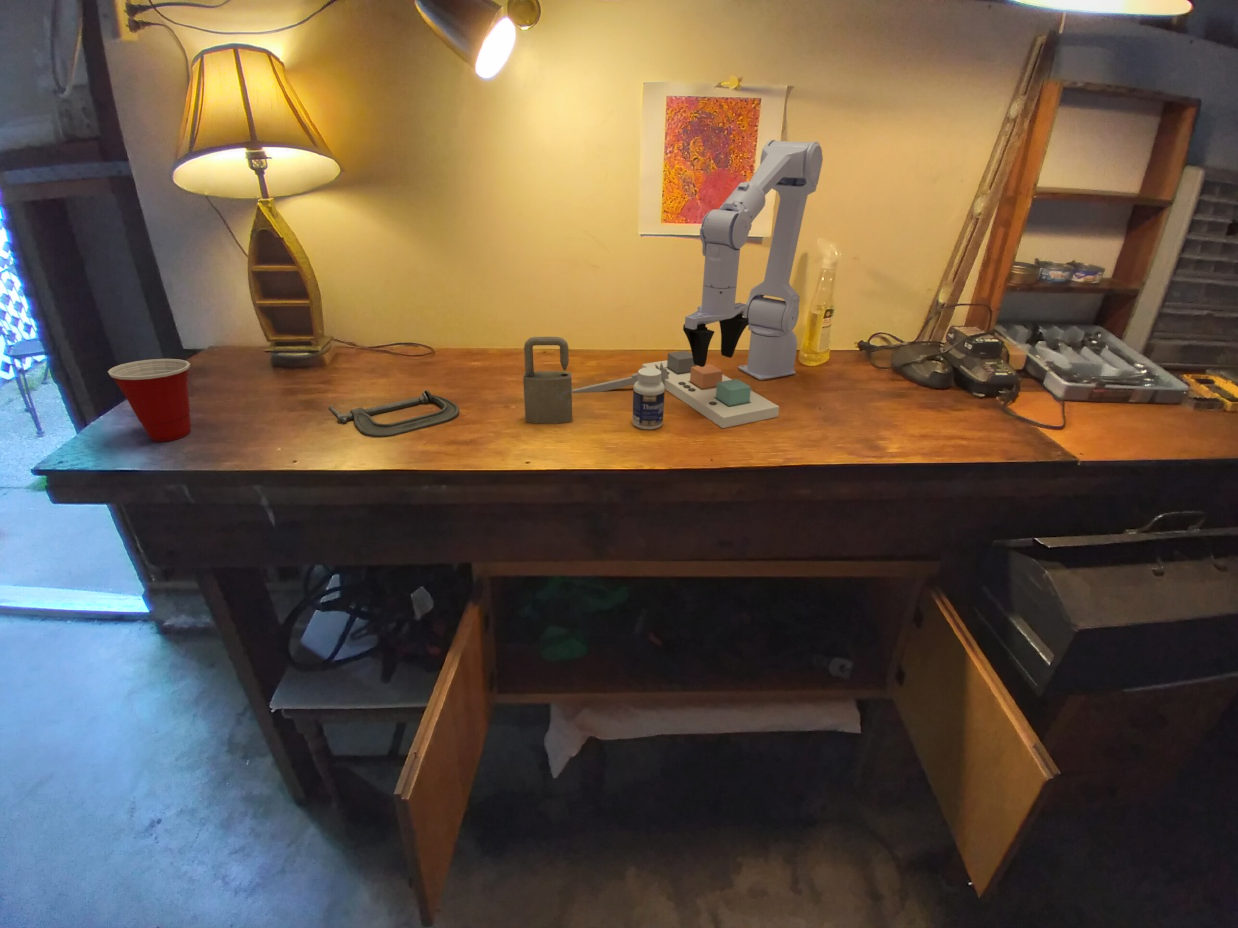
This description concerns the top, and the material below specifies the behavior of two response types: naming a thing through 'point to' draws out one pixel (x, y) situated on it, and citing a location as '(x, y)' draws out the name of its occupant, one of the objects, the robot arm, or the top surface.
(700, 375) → the button three
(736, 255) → the robot arm
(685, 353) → the button two
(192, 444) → the top surface
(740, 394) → the button one
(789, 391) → the top surface
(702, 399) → the button panel
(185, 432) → the plastic cup
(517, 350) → the top surface
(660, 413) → the pill bottle
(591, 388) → the caliper
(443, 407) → the c clamp
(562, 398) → the padlock
